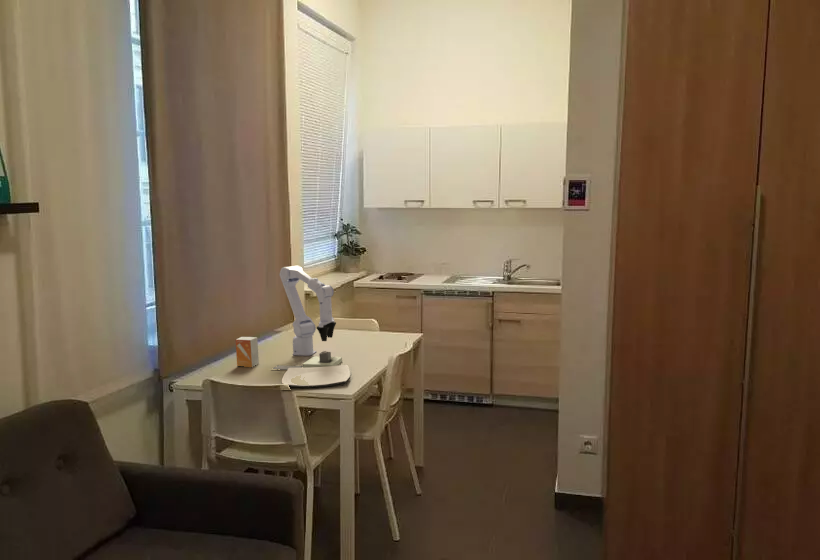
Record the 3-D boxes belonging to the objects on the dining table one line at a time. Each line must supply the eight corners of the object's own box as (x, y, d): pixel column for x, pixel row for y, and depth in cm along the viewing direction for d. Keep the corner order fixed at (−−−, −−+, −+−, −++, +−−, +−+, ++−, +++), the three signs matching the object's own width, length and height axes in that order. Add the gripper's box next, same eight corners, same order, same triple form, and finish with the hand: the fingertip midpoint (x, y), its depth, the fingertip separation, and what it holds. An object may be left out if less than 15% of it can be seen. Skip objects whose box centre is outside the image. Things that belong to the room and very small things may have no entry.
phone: (270, 371, 307) (270, 369, 307) (277, 367, 314) (277, 365, 313) (297, 372, 304) (297, 369, 303) (303, 368, 310) (303, 365, 310)
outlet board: (302, 368, 308) (302, 364, 308) (314, 360, 321) (313, 356, 321) (331, 369, 304) (331, 364, 304) (342, 361, 318) (342, 357, 318)
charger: (320, 366, 310) (319, 352, 309) (323, 364, 314) (322, 349, 313) (328, 366, 309) (327, 352, 308) (331, 364, 313) (330, 350, 312)
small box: (236, 366, 315) (234, 339, 313) (244, 363, 321) (242, 336, 319) (252, 367, 312) (250, 339, 310) (259, 364, 318) (257, 336, 316)
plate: (286, 372, 303) (286, 367, 302) (350, 369, 304) (350, 363, 304) (278, 391, 274) (278, 385, 274) (349, 388, 276) (349, 381, 276)
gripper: (328, 314, 313) (329, 342, 315) (339, 308, 327) (340, 336, 329) (313, 313, 315) (315, 342, 317) (325, 308, 329) (326, 335, 331)
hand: (327, 339), depth 323 cm, fingers open, 7 cm apart
